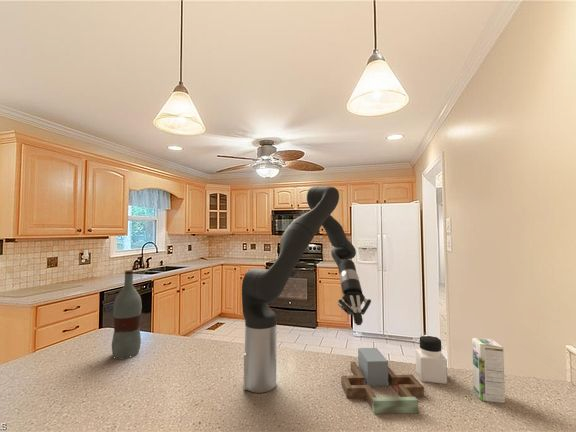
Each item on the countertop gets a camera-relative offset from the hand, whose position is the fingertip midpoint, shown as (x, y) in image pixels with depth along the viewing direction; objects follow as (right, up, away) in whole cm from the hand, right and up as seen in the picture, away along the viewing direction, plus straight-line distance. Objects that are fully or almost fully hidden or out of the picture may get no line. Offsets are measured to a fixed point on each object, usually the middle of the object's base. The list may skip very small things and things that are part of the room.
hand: (359, 324), depth 104 cm
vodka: (-84, -12, +2) cm, 85 cm away
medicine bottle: (+19, -11, -15) cm, 26 cm away
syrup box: (+29, -10, -25) cm, 40 cm away
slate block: (+1, -11, -15) cm, 18 cm away
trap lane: (+1, -10, -21) cm, 24 cm away
